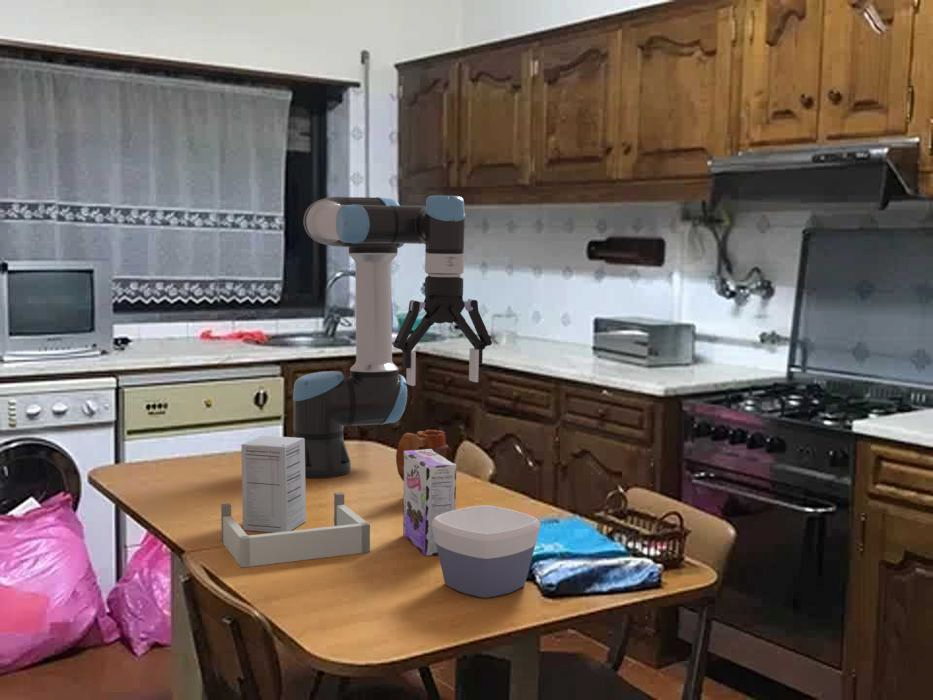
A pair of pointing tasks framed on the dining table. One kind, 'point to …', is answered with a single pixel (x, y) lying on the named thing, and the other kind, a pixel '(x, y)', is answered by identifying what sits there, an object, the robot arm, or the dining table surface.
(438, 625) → the dining table surface
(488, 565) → the bowl
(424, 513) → the candy box
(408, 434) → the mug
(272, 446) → the supplement box
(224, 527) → the bay
